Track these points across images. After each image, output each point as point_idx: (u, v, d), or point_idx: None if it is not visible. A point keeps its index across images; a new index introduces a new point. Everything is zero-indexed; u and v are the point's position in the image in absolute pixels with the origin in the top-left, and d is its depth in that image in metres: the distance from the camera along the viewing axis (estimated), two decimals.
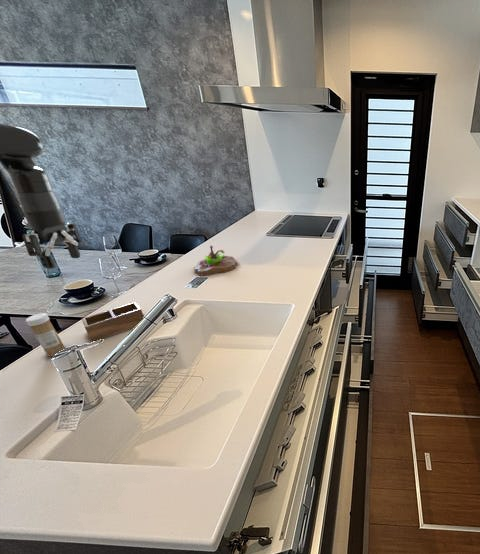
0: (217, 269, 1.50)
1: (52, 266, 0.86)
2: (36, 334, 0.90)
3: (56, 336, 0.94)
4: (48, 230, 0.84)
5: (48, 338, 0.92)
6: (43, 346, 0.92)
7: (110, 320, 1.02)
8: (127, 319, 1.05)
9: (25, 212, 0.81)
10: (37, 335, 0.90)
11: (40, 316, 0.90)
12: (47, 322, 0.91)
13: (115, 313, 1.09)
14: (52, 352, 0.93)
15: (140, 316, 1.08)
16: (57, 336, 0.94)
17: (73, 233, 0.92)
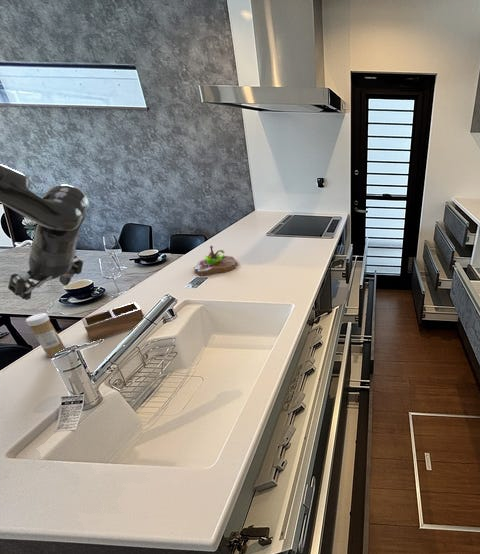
0: (217, 269, 1.50)
1: (26, 298, 0.78)
2: (36, 334, 0.90)
3: (56, 336, 0.94)
4: None
5: (48, 338, 0.92)
6: (43, 346, 0.92)
7: (110, 320, 1.02)
8: (127, 319, 1.05)
9: (30, 256, 0.71)
10: (37, 335, 0.90)
11: (40, 316, 0.90)
12: (47, 322, 0.91)
13: (115, 313, 1.09)
14: (52, 352, 0.93)
15: (140, 316, 1.08)
16: (57, 336, 0.94)
17: (75, 267, 0.84)
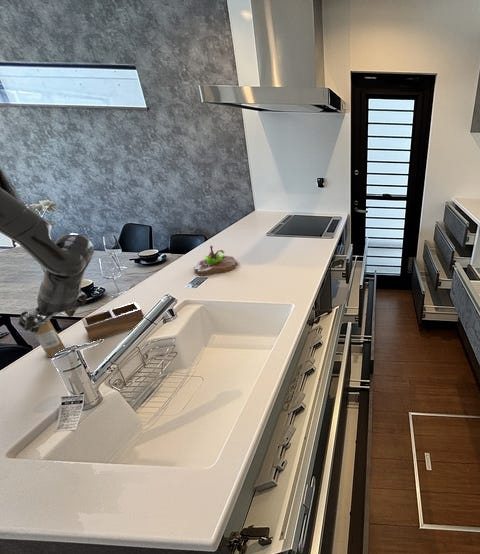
0: (217, 269, 1.50)
1: (35, 331, 0.84)
2: (36, 334, 0.90)
3: (56, 336, 0.94)
4: None
5: (48, 338, 0.92)
6: (43, 346, 0.92)
7: (110, 320, 1.02)
8: (127, 319, 1.05)
9: (39, 296, 0.77)
10: (37, 335, 0.90)
11: None
12: (47, 322, 0.91)
13: (115, 313, 1.09)
14: (52, 352, 0.93)
15: (140, 316, 1.08)
16: (57, 336, 0.94)
17: (79, 300, 0.90)
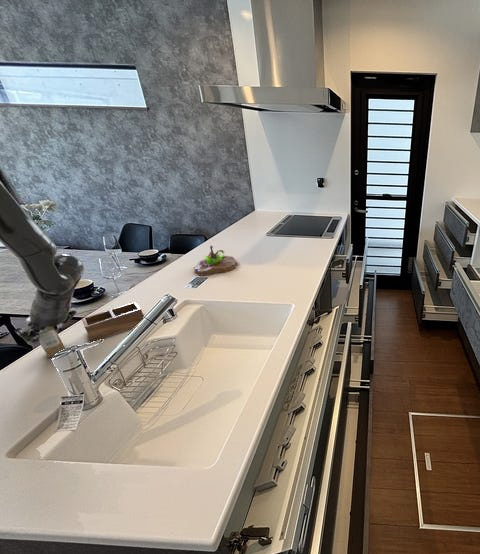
0: (217, 269, 1.50)
1: (35, 342, 0.91)
2: None
3: (56, 336, 0.94)
4: None
5: (48, 338, 0.92)
6: (43, 346, 0.92)
7: (110, 320, 1.02)
8: (127, 319, 1.05)
9: (31, 311, 0.82)
10: None
11: None
12: None
13: (115, 313, 1.09)
14: (52, 352, 0.93)
15: (140, 316, 1.08)
16: (57, 336, 0.94)
17: (67, 317, 0.94)
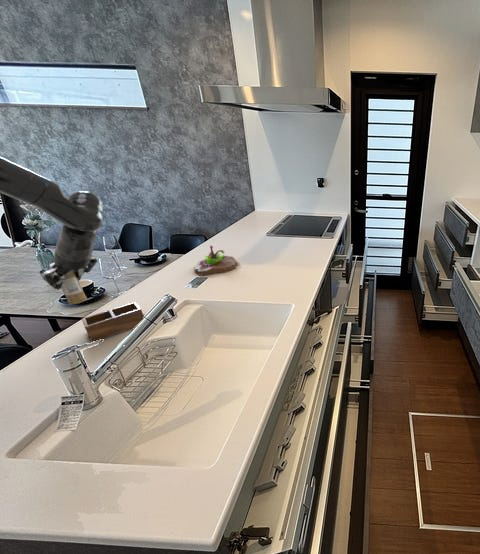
0: (217, 269, 1.50)
1: (58, 288, 0.93)
2: None
3: (78, 284, 0.95)
4: None
5: (70, 285, 0.93)
6: (65, 293, 0.93)
7: (110, 320, 1.02)
8: (127, 319, 1.05)
9: (56, 252, 0.84)
10: None
11: None
12: None
13: (115, 313, 1.09)
14: (74, 299, 0.95)
15: (140, 316, 1.08)
16: (79, 284, 0.96)
17: (88, 265, 0.96)
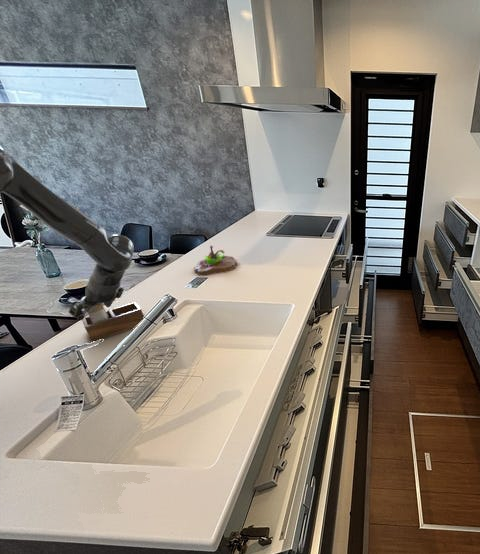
0: (217, 269, 1.50)
1: (80, 319, 0.98)
2: (89, 312, 0.99)
3: (106, 315, 1.03)
4: None
5: (99, 316, 1.01)
6: None
7: (110, 320, 1.02)
8: (127, 319, 1.05)
9: (88, 288, 0.91)
10: (90, 313, 1.00)
11: None
12: None
13: (115, 313, 1.09)
14: None
15: (140, 316, 1.08)
16: (106, 315, 1.03)
17: (117, 293, 1.04)
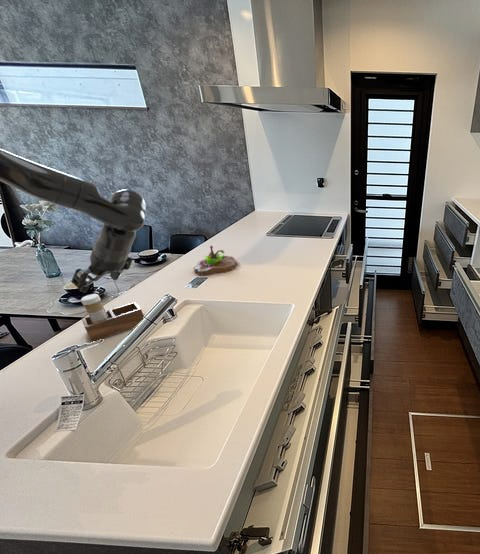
0: (217, 269, 1.50)
1: (84, 291, 0.87)
2: (89, 312, 0.99)
3: (106, 315, 1.03)
4: None
5: (99, 316, 1.01)
6: None
7: (110, 320, 1.02)
8: (127, 319, 1.05)
9: (93, 253, 0.80)
10: (90, 313, 1.00)
11: (93, 296, 0.99)
12: (99, 302, 1.00)
13: (115, 313, 1.09)
14: None
15: (140, 316, 1.08)
16: (106, 315, 1.03)
17: (125, 263, 0.92)
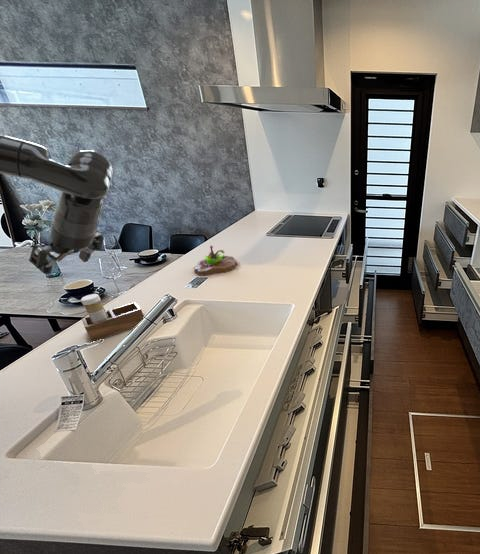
0: (217, 269, 1.50)
1: (47, 273, 0.76)
2: (89, 312, 0.99)
3: (106, 315, 1.03)
4: None
5: (99, 316, 1.01)
6: None
7: (110, 320, 1.02)
8: (127, 319, 1.05)
9: (53, 227, 0.69)
10: (90, 313, 1.00)
11: (93, 296, 0.99)
12: (99, 302, 1.00)
13: (115, 313, 1.09)
14: None
15: (140, 316, 1.08)
16: (106, 315, 1.03)
17: (95, 242, 0.81)
